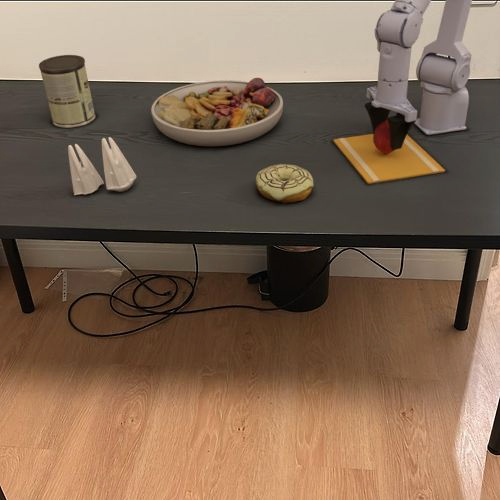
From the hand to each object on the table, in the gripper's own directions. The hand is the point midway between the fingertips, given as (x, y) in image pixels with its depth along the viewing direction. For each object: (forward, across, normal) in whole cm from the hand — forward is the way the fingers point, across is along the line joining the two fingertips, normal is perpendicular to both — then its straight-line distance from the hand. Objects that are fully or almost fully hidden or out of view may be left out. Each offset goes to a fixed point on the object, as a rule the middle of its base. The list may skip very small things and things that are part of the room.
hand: (387, 142), depth 128 cm
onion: (+3, 0, 0) cm, 3 cm away
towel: (+3, 0, 0) cm, 3 cm away
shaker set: (+3, -13, -56) cm, 57 cm away
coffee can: (+3, -51, -55) cm, 75 cm away
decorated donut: (+3, +4, -25) cm, 25 cm away
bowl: (+3, -32, -25) cm, 41 cm away
